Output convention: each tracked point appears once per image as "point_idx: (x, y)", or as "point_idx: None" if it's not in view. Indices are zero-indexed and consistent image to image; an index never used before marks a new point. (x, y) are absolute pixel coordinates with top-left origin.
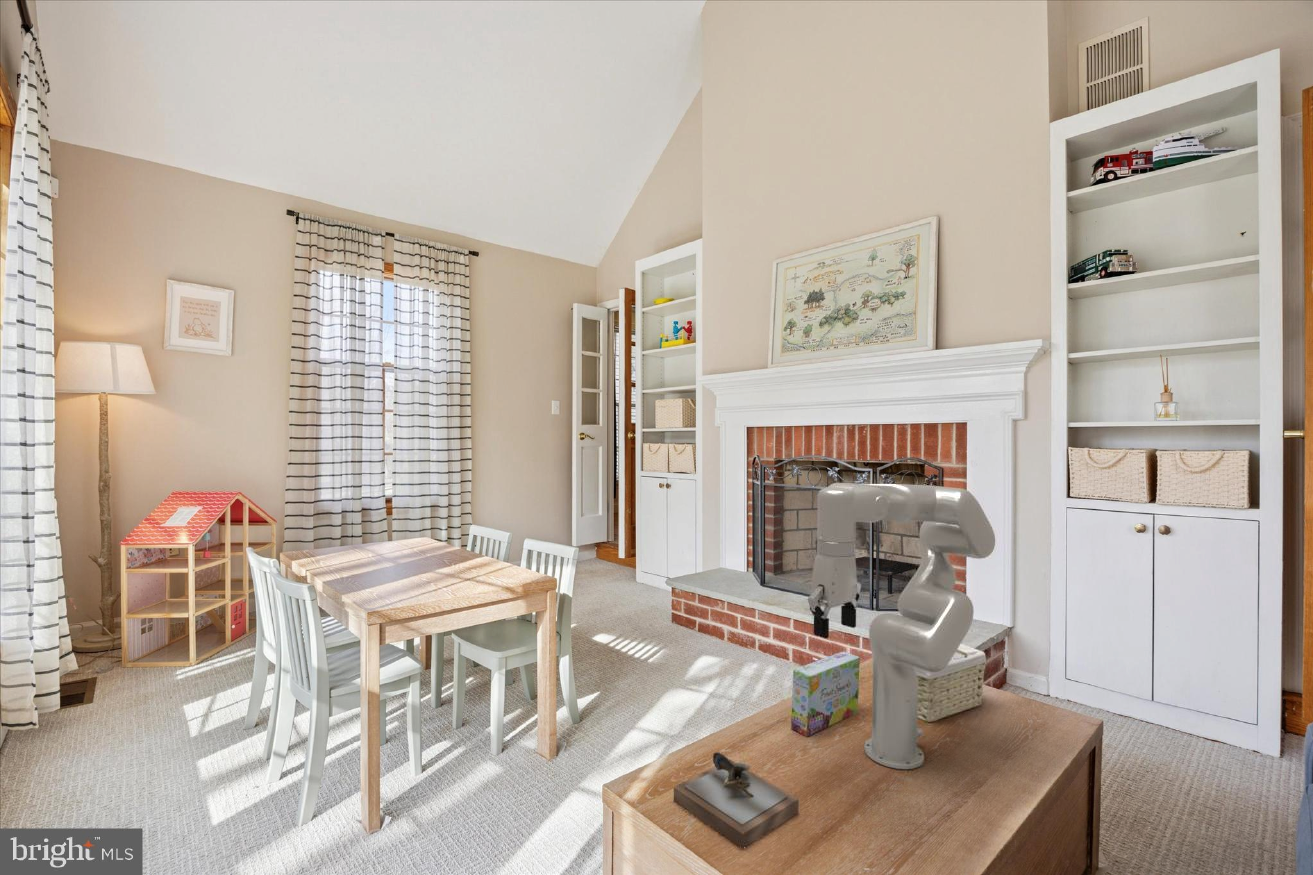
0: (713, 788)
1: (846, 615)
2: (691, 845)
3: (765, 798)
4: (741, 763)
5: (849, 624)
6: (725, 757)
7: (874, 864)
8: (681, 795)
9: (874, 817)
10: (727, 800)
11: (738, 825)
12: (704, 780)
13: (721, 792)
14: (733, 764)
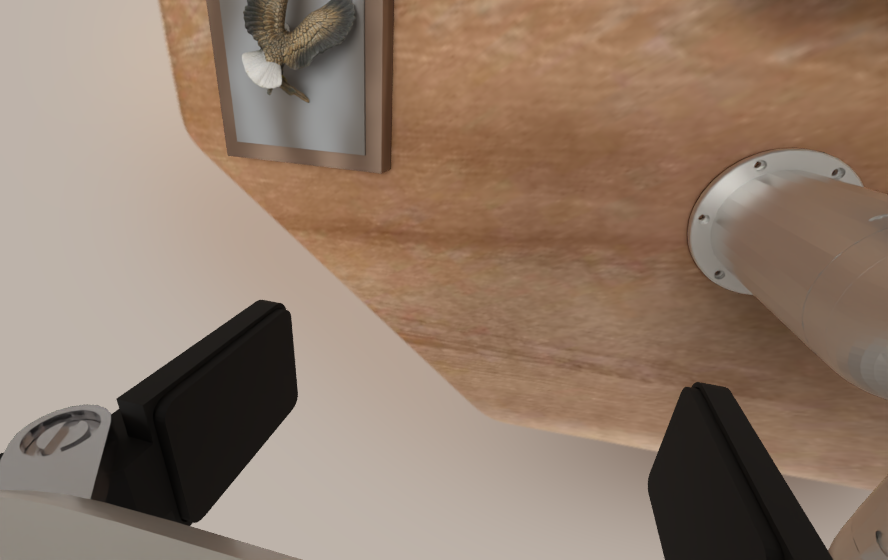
0: None
1: (699, 517)
2: (182, 80)
3: (325, 124)
4: (247, 75)
5: (663, 468)
6: (244, 12)
7: (376, 314)
8: None
9: (481, 277)
10: None
11: (235, 135)
12: None
13: None
14: (261, 40)
